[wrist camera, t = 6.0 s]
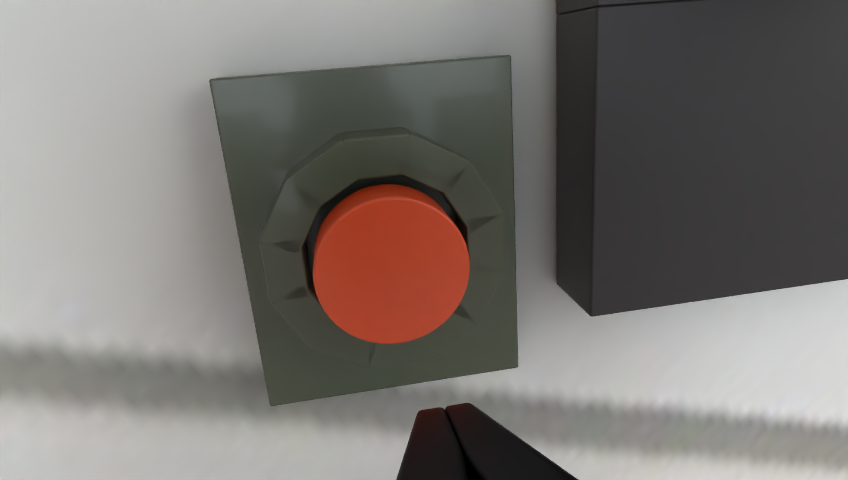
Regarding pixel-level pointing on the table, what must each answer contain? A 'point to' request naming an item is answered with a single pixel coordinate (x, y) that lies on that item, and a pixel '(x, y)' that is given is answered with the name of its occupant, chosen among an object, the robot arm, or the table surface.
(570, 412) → the table surface
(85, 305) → the table surface
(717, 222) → the grinder base
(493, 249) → the button block
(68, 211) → the table surface
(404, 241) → the release button
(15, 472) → the table surface
